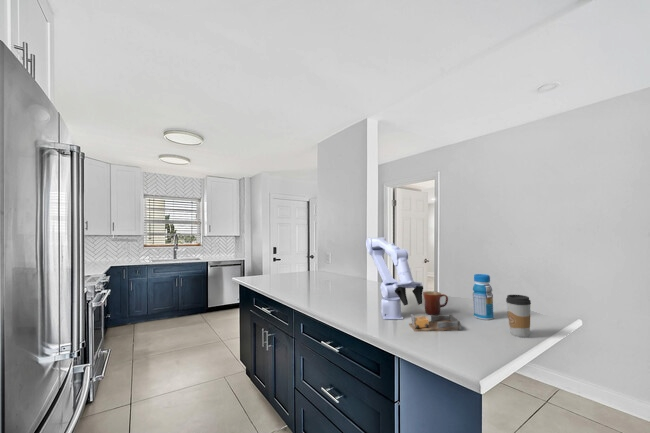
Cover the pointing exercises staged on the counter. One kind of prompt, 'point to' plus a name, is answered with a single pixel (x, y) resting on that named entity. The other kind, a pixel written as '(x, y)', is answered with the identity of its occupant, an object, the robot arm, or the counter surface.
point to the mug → (433, 302)
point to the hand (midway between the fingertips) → (413, 304)
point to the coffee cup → (519, 315)
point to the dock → (440, 324)
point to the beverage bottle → (483, 297)
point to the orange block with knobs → (419, 321)
